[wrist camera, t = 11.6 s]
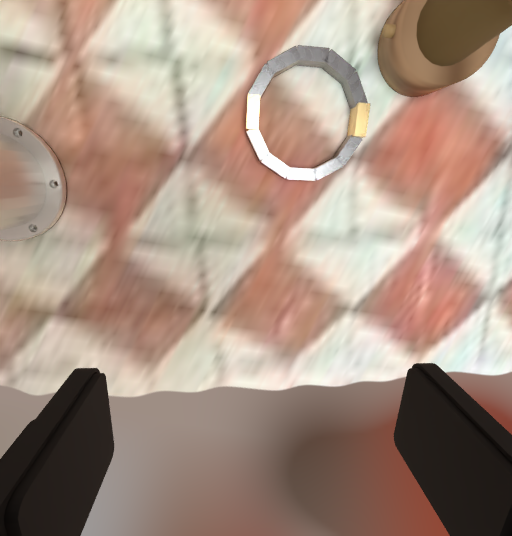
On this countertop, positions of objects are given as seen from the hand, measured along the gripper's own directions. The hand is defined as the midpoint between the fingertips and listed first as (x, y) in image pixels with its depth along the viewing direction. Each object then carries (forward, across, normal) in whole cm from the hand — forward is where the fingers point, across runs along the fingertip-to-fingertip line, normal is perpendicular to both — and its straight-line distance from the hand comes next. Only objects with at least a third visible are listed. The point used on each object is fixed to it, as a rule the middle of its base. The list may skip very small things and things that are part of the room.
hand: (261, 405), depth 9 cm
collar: (+28, -7, -12) cm, 31 cm away
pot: (+28, -18, -20) cm, 39 cm away
